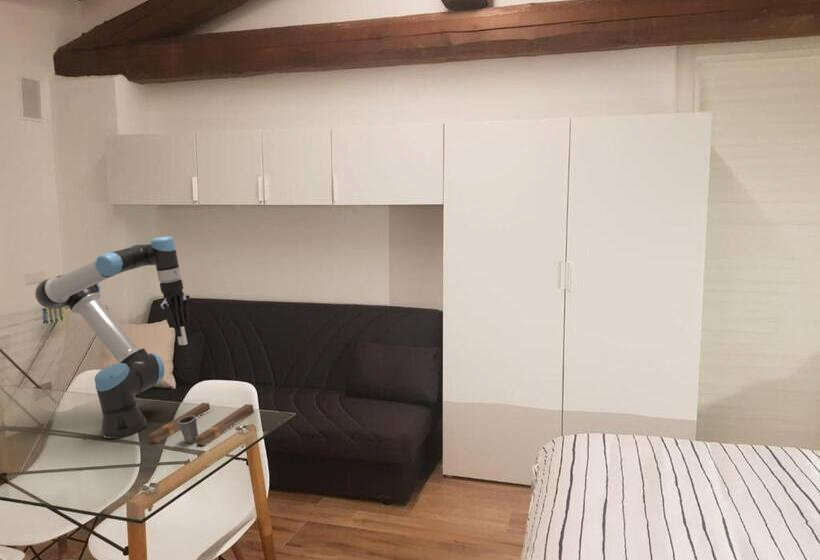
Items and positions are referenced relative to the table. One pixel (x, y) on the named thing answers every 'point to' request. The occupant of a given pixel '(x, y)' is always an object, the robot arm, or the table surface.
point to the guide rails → (209, 433)
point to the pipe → (188, 428)
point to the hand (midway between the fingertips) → (183, 344)
